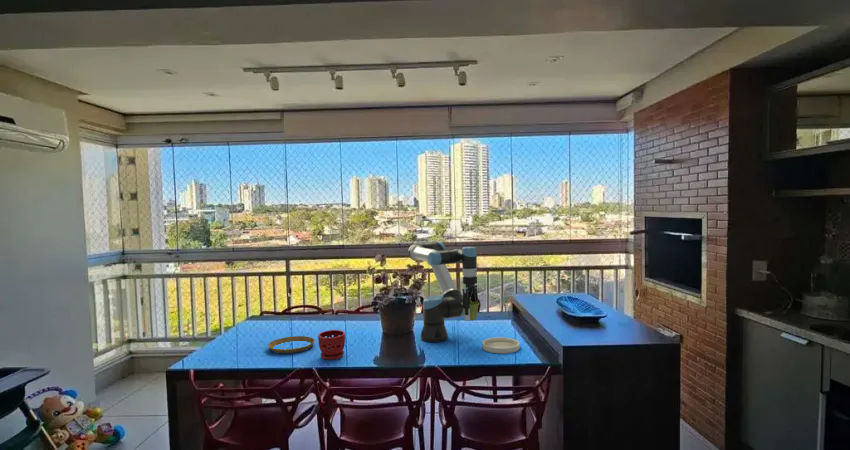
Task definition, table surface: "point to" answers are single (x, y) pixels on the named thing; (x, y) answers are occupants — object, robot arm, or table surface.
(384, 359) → the table surface
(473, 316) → the plant pot
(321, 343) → the plant pot
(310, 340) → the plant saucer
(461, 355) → the table surface
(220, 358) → the table surface
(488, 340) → the saucer
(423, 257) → the robot arm
